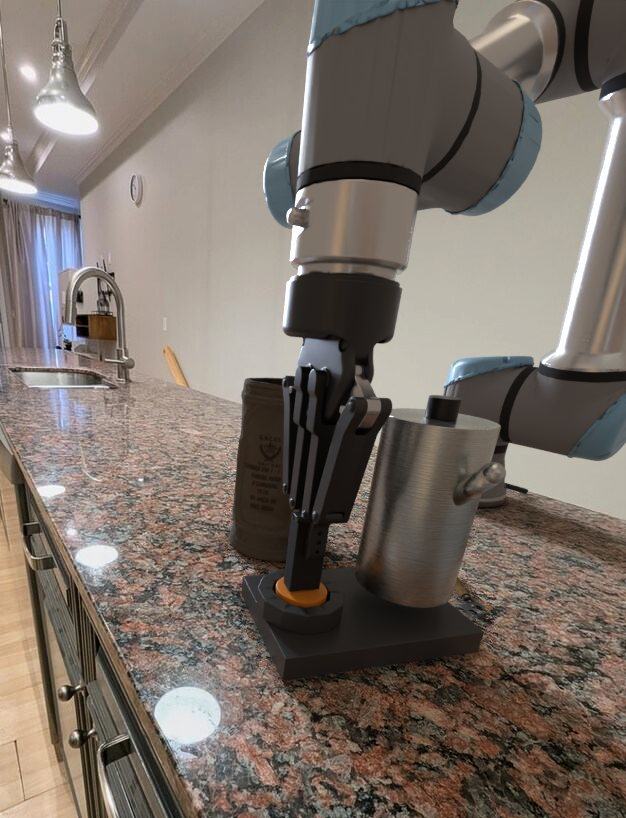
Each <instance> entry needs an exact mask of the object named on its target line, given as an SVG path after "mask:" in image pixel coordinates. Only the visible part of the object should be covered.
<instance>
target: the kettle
mask: <svg viewBox="0 0 626 818" xmlns="http://www.w3.org/2000/svg"><path fill="white" fill-rule="evenodd" d="M461 402H462V399H460V398H456V397H450V396H443V395H441V394H430V395H429V396H428V399H427V403H426V407H425V408H410V407H409V408H407V407H404V408H403V407H401V408H400V407H399V408H397V407H396V408H392V412H391V414H390V416H389V417H388V419H387V420H386V422H385V424H384V425H383V427H382V428H381V430H380V435H379V440H378V445H377V450H376V456H375V462H374V467H373V472H372V476H371V482H370V486H369V487H370V488H369V493H368V498H367V503H366V509H365V515H364V520H363V524H362V529H361V534H360V541H359V546H358V551H357V556H356V561H355V566H354V567H355V577H356V579H357V581H358V582H359V583H360V585H361V586H362V587H364V588H365V589H366V590H367V591H369V592H370V593H372V594H374V595H376V596H377V597H379V598H382V599H384V600H387V601H389V602H392V603H396V604H399V605H403V606H409V607H417V608H431V607H437V606H441V605H443V604H445V603H447V602H450V600H451V599H452V597H453V594H454V591H455V590H454V587H455V584H456V580H457V577H458V578H459V573H460V570H461V566H462V562H463V559H464V555H465V553H466V549H467V545H468V542H469V539H470V535H471V532H472V529H473V525H474V523H475V522H474V521H475V518H476V514H477V511H478V508H479V507H478V505H479V501H480V498H481V494H483V493H484V492H486V491H488V490H489V489H491V488H493V487H495V486H496V485H498V484H500V483H501V482H502V481H503V480H504V479H505V480H506V477H507V469H506V467H505V468H504V466H503V465H501V464H500V463H497V462H491V460H492V456H493V453H494V449H495V446H496V443H497V439H498V436H499V432H500V429H501V426H500V425H499V424H497V423H495V422H493V421H490V420H487V419H483V418H479V417H474V416H470V415H464V414H459V410H460V406H461Z"/></svg>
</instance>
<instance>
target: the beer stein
mask: <svg viewBox="0 0 626 818" xmlns="http://www.w3.org/2000/svg"><path fill="white" fill-rule="evenodd" d="M283 378H284V377H247V378H245V379H244V382H243V388H242V390H241V394H240V397H241V422H240V423H241V425H240V435H239V437H238V444H237V451H236V452H237V453H236V466H235V479H234V490H233V491H234V493H233V504H232V513H231V518H232V525H231V527H230V529H229V536H228V540H229V543H230V545H231V546H232V547H233V548H234V549H235V550H236V551H237V552H238V553H241V554H242V555H244V556H246V557H249V558H252V559H254V560H259V561H267V562H277V563H278V562H279V563H281V562H282V563H284V562H285V563H286V557H287V549H288V541H289V533H290V525H291V517H292V513H293V511H294V510H292V509H291V508H290V504H289V499H290V495H285V494H284V493H283V489H282V487H283V448H284V396H283V387H282V381H283Z"/></svg>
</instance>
